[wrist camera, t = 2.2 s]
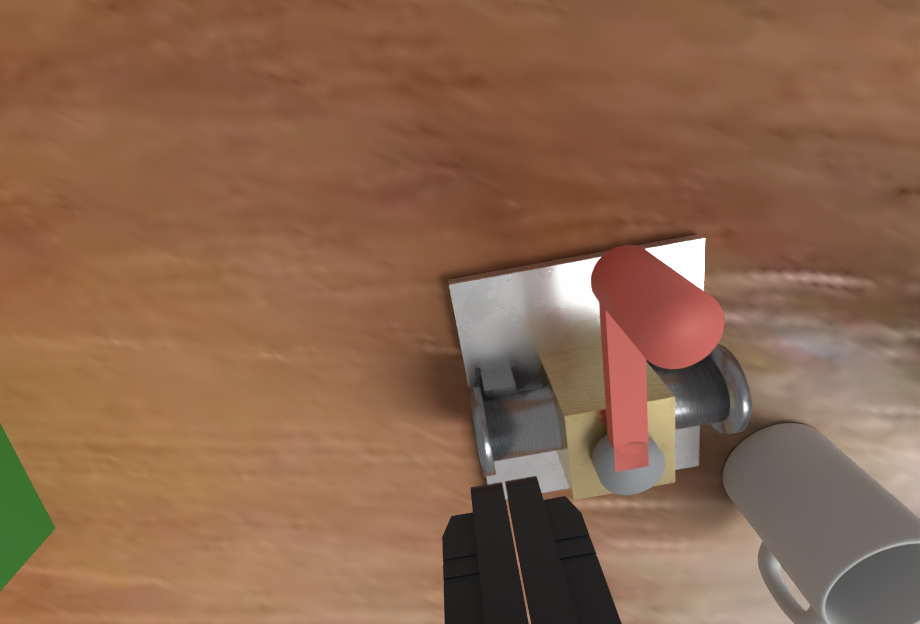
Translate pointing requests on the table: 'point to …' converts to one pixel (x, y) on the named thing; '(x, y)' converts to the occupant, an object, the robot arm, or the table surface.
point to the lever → (643, 354)
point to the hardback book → (18, 514)
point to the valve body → (576, 374)
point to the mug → (825, 529)
